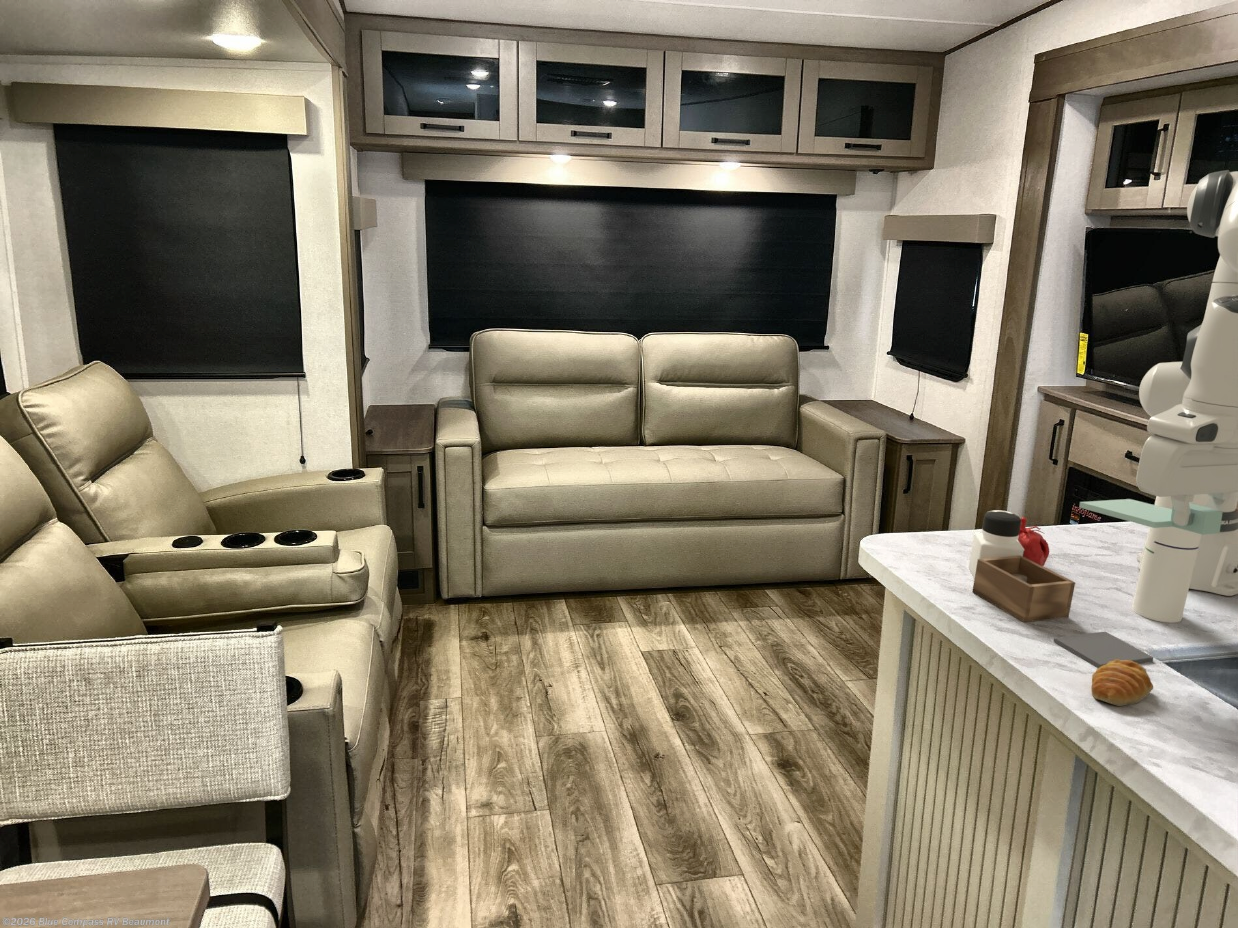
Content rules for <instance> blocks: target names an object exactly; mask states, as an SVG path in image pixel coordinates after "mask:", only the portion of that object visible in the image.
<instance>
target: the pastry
mask: <svg viewBox="0 0 1238 928" xmlns="http://www.w3.org/2000/svg"><path fill="white" fill-rule="evenodd" d="M1150 677H1151V676H1150V675H1149V674H1148V673H1147V670H1146V668H1144V666H1142V665H1141V664H1140V663H1135V662H1133V661H1131V660H1119V659H1115V660H1114V661H1110V662H1108V664H1106V665H1103V666H1101V667H1099V668H1098V667H1097V669H1096V670H1095V672H1093V674H1092V676H1091V687H1090V688H1091V689H1090V690H1091V695H1092V696H1093V698H1094V699H1096V700H1099V701H1102V702H1106V703H1108V704H1110V705H1114V706H1116V707H1117V706H1118V707H1123V706H1125V704H1128V705H1136V704H1139V703H1140V701H1142V700H1144V699H1145V698H1146V697H1147V696H1148V695H1149V694H1150V693H1151V692H1152V691H1153V689H1154V684H1153V683H1152V681H1151V678H1150Z"/></svg>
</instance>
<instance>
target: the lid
mask: <svg viewBox="0 0 1238 928" xmlns="http://www.w3.org/2000/svg"><path fill="white" fill-rule="evenodd" d="M1189 506H1190V512H1191V513H1194V514H1195V516H1194V519H1193V524H1192V525H1188V526H1180V525H1177V524H1175V523H1174V522H1173V517H1174V513H1175V510H1174V507H1172V509H1168V508H1164V507H1160V506H1156V505H1155V504H1151V503H1148V502H1144V501H1139V500H1135V499H1132V498H1126V499H1122V498H1121V499H1109V500H1108V499H1107V500H1093V501H1091V500H1090V501H1079V507H1078V508H1080V509H1085V510H1086V511H1087V510H1088V511H1091V512H1095V513H1099V514H1102V515H1106V516H1109V517H1113V518H1117V519H1121V520H1124V521H1128V522H1131V523H1135V524H1138V525H1141V526H1146V527H1149V528H1150V527H1152V528H1161V527H1176V528H1180V529H1183V530H1187V531H1191V532H1195V533H1198V534H1202V535H1205V534H1217V533H1220V526H1221V519H1222V512H1223V511H1220V510H1216V509H1211V508H1207V507H1203V506H1199V505H1194V504H1190V503H1189Z"/></svg>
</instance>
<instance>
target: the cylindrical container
mask: <svg viewBox="0 0 1238 928" xmlns="http://www.w3.org/2000/svg"><path fill="white" fill-rule="evenodd" d="M1155 497H1156V498H1155V501H1154V505H1156V506H1160V507H1164V508H1168V509H1172V507H1173V504H1172V500H1171V496H1167V497H1158V496H1155ZM1209 498H1210V496H1209V495H1208V494H1198V495H1194V498H1193V501H1192V502H1189V503H1190V504H1194V505H1199V506H1203V507H1205V505H1206V503H1207V501H1208V500H1209ZM1201 535H1202V534H1198V533H1195V532H1191V531H1187V530H1183V529H1180V528H1176V527H1161V528H1152V527H1149V528H1148V533H1147V538H1146V540H1147V541H1145V543H1146V547H1145V550H1144V555H1143V560H1142V564H1141V569H1139V573H1138V579H1137V583H1136V589H1135V591H1134V597H1133V602H1132V606H1131V609H1132V611H1133V612H1135V613H1136V614H1137V615H1139V616H1142V617H1144V618H1146V619H1148V620H1152V621H1157V622H1162V623H1168V624H1169V623H1171V624H1172V623H1179V622H1181V621H1182V619H1183V614H1184V611H1185V606H1186V603H1187V602H1186V601H1187V598H1188V595H1189V594H1188V593H1189V589H1190V588H1189V586H1190V582H1191V577H1192V573H1193V569H1194V564H1195V560H1196V556H1197V552H1198V546H1199V543H1200V539H1201Z"/></svg>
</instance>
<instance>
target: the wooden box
mask: <svg viewBox="0 0 1238 928" xmlns="http://www.w3.org/2000/svg"><path fill="white" fill-rule="evenodd" d="M973 579H974V578H973ZM1075 586H1076V582H1075V581H1073V580H1071V579H1069V578H1067V577H1065V576H1063V575H1061V574H1059V573H1057V572H1055V571H1053V570H1051V569H1048V568H1047V567H1045V566H1041V565H1039V564H1037V563H1035V562H1033V561H1031V560H1029V559H1027V558H1025V557H1023V556H1010V557H998V558H987V559H978V561H977V567H976V573H975V579H974V581H973V586H972V592H971V593H973V594H974V595H976V596H978V597H980V598H982V599H983V600H985V601H986V602H988V603H991V605H994V606H995V607H997V608H998V609H1000V610H1002V611H1004V612H1005V613H1007V614H1009V615H1010V616H1012V617H1014V618H1015V619H1018V620H1019V621H1020V622H1022V623H1030V622H1036V621H1045V620H1046V621H1047V620H1055V619H1056V620H1057V619H1063V618H1069V615H1070V611H1071V607H1072V602H1073V596H1074V592H1075Z"/></svg>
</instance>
